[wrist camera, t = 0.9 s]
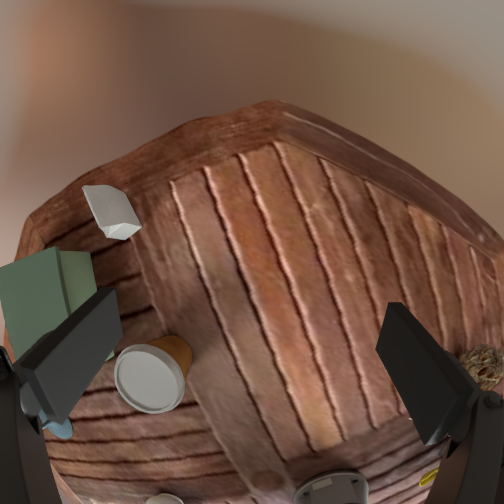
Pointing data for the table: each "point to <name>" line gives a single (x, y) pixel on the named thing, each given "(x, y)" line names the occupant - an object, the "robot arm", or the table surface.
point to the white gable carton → (112, 211)
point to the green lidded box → (43, 293)
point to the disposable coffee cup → (153, 374)
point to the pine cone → (483, 365)
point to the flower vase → (164, 499)
